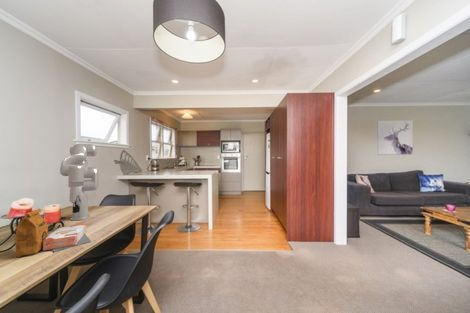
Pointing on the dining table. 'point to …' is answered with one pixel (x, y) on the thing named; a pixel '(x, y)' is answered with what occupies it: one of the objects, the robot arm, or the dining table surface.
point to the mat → (83, 240)
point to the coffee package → (30, 234)
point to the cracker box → (64, 237)
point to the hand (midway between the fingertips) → (76, 212)
